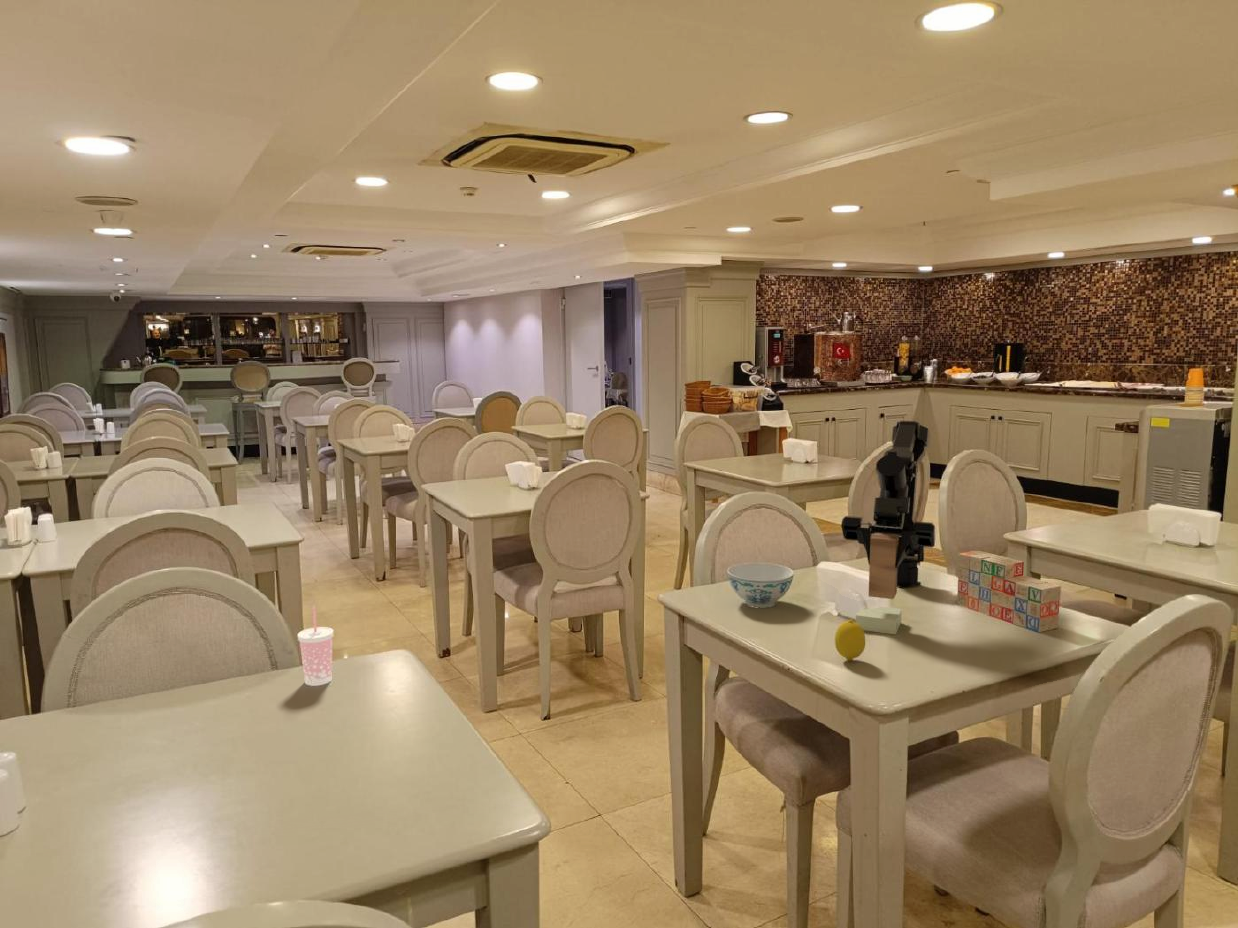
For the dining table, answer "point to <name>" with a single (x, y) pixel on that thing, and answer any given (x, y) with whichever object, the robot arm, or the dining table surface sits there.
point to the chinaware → (760, 582)
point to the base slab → (880, 619)
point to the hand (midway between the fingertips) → (882, 565)
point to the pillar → (883, 565)
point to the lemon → (850, 640)
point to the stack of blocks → (1006, 591)
